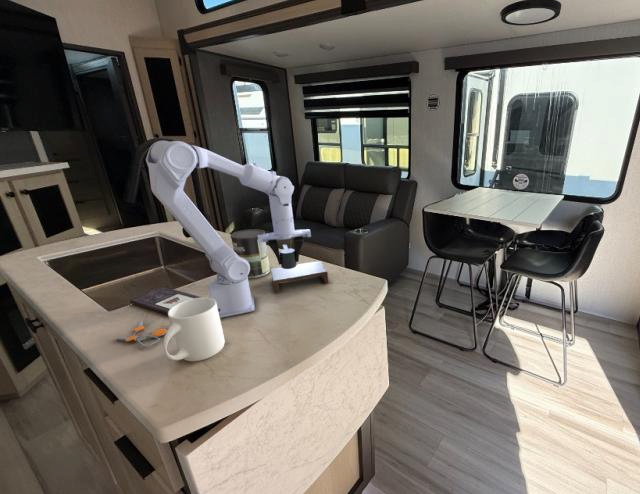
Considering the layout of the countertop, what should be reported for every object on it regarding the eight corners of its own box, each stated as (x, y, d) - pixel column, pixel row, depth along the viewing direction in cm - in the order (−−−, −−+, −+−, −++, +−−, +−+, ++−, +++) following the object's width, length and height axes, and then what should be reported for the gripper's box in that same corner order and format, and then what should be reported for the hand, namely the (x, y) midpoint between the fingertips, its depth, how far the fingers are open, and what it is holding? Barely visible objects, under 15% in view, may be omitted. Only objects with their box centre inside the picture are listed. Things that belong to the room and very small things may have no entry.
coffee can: (249, 281, 102) (241, 240, 98) (231, 274, 108) (223, 234, 103) (276, 271, 110) (271, 232, 105) (259, 264, 116) (253, 227, 111)
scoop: (297, 267, 95) (295, 252, 94) (282, 270, 94) (280, 254, 92) (293, 257, 103) (291, 242, 102) (279, 259, 102) (276, 244, 100)
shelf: (275, 292, 95) (273, 280, 94) (272, 280, 104) (270, 268, 102) (328, 282, 102) (327, 271, 100) (321, 271, 110) (320, 260, 109)
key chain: (176, 333, 75) (175, 330, 75) (141, 351, 69) (140, 348, 69) (144, 321, 80) (143, 318, 80) (109, 336, 74) (108, 333, 74)
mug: (154, 369, 64) (139, 323, 60) (204, 335, 75) (194, 295, 71) (188, 377, 62) (174, 331, 58) (234, 341, 73) (225, 300, 69)
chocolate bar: (163, 286, 96) (203, 297, 90) (163, 289, 97) (204, 300, 90) (129, 299, 89) (171, 313, 82) (130, 302, 89) (172, 316, 82)
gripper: (255, 224, 85) (263, 270, 90) (310, 218, 91) (315, 262, 95) (254, 218, 91) (262, 262, 96) (306, 213, 97) (310, 255, 101)
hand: (288, 262), depth 96 cm, fingers closed on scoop, 4 cm apart
